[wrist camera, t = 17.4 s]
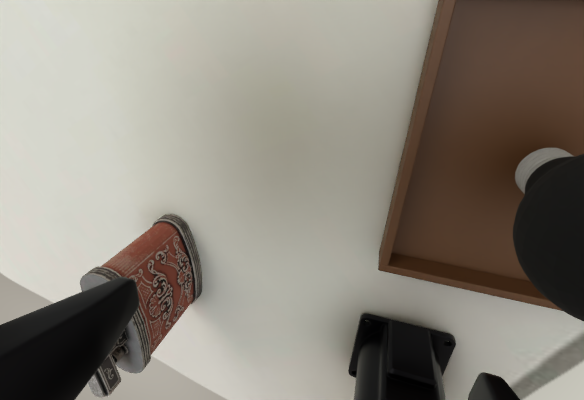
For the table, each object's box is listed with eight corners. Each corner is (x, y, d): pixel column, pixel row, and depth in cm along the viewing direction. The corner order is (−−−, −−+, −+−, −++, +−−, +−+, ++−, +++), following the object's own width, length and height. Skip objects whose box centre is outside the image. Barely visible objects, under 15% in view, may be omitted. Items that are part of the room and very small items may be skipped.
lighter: (151, 212, 25) (27, 300, 17) (190, 215, 24) (79, 310, 16) (173, 294, 29) (78, 403, 20) (207, 299, 28) (124, 416, 19)
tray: (606, 300, 19) (629, 325, 17) (379, 252, 22) (378, 270, 20) (809, -3, 12) (878, -10, 10) (442, -19, 15) (450, -27, 13)
